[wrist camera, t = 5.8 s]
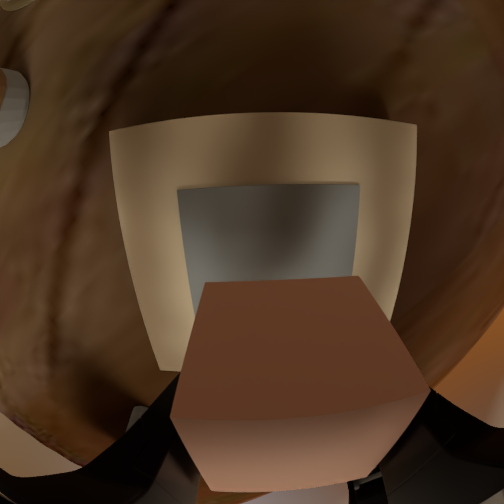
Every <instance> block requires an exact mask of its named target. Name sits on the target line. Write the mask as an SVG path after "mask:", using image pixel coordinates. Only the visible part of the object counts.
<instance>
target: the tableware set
mask: <svg viewBox="0 0 504 504" xmlns="http://www.w3.org/2000/svg"><path fill="white" fill-rule="evenodd" d="M34 1H35V0H0V5H1V7H2V9H4V10H6V11H15V10H18V9H21V8H23V7H25V6H27V5H29V4H30V3H32V2H34Z"/></svg>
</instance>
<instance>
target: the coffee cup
mask: <svg viewBox="0 0 504 504" xmlns="http://www.w3.org/2000/svg"><path fill="white" fill-rule="evenodd" d="M28 105H29V87H28V83H27V81H26V79H25V78H24V77H23V75H22V74H21V73H19V72H18V71H14V70H9V69H4V68H0V147H3V146H4V145H6V144H8V143H9V142H10V140H12V139H13V138H14V137H15V136H16V135H17V134H18V132H19V130H20V129H21V127H22V125H23V123H24V120H25V118H26V114H27V111H28Z"/></svg>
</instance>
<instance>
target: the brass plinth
mask: <svg viewBox="0 0 504 504" xmlns="http://www.w3.org/2000/svg"><path fill="white" fill-rule="evenodd" d="M109 139H110V151H111V161H112V170H113V179H114V186H115V194H116V200H117V207H118V213H119V219H120V224H121V230H122V235H123V240H124V245H125V250H126V254H127V259H128V263H129V268H130V272H131V276H132V280H133V284H134V288H135V292H136V295H137V299H138V303H139V306H140V310H141V313H142V317H143V320H144V323H145V326H146V330H147V333H148V336H149V339H150V342H151V345H152V348H153V351H154V354H155V357H156V359H157V362H158V365H159V368H160V370H166V371H181V369H182V365H183V361H184V357H185V353H186V350H187V346H188V342H189V338H190V335H191V331H192V327H193V323H194V320H195V316H196V313H197V309H198V305H199V302H200V298H201V295H202V291H203V288H204V284H205V282H233V281H262V280H287V279H308V278H326V277H343V276H359V277H360V278H361V280H362V281H363V282H364V284H365V285H366V287H367V288H368V290H369V291H370V293H371V294H372V296H373V297H374V299H375V300H376V302H377V303H378V305H379V306H380V308H381V309H382V311H383V312H384V314H385V315H386V317H387V318H388V320H389V321H390V320H391V316H392V312H393V309H394V305H395V301H396V297H397V293H398V288H399V284H400V280H401V275H402V270H403V265H404V260H405V255H406V249H407V243H408V237H409V230H410V223H411V216H412V208H413V198H414V187H415V174H416V154H417V125H414V124H408V123H402V122H397V121H390V120H383V119H376V118H368V117H359V116H349V115H338V114H323V113H299V112H259V113H235V114H220V115H208V116H198V117H189V118H181V119H173V120H166V121H160V122H154V123H148V124H142V125H137V126H132V127H127V128H122V129H117V130H113V131H109Z"/></svg>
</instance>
